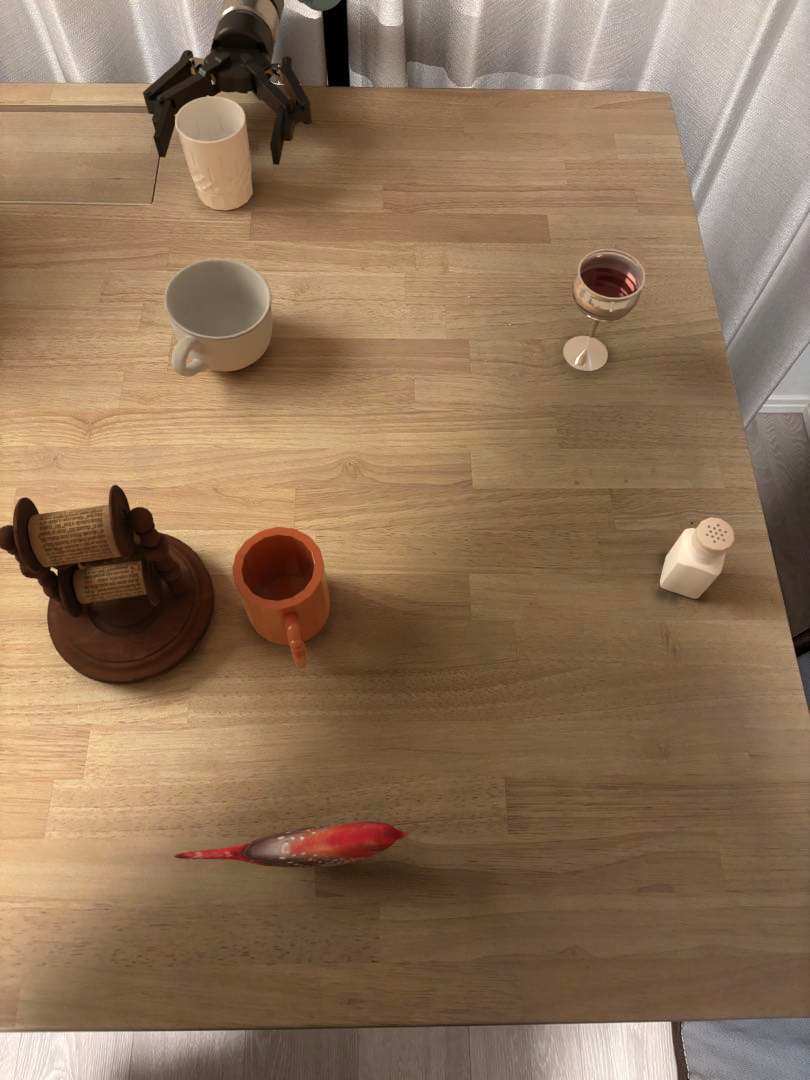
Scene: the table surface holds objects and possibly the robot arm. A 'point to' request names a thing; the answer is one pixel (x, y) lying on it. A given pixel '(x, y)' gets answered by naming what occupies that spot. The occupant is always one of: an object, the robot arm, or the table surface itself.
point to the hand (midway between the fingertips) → (216, 151)
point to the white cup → (216, 151)
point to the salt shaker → (697, 558)
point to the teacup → (218, 316)
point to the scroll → (113, 588)
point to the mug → (283, 587)
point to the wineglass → (602, 301)
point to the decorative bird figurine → (311, 846)
